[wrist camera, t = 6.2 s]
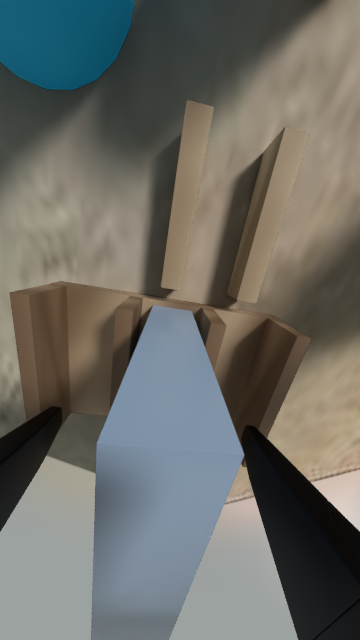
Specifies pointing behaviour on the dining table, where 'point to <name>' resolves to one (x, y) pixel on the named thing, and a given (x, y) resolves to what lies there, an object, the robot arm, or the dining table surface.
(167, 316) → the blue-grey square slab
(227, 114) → the dining table surface
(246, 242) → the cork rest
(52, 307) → the rack
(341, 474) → the dining table surface
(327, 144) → the dining table surface
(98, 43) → the mug
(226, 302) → the dining table surface
